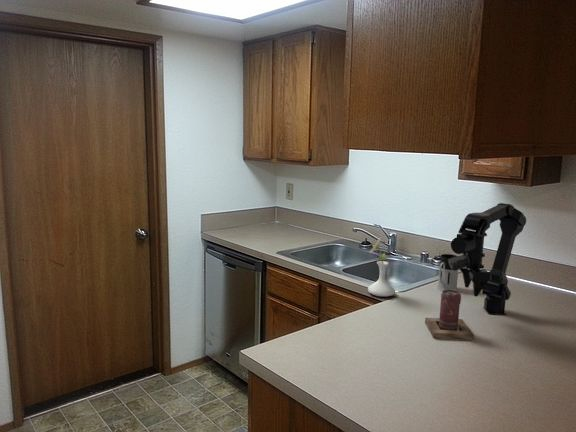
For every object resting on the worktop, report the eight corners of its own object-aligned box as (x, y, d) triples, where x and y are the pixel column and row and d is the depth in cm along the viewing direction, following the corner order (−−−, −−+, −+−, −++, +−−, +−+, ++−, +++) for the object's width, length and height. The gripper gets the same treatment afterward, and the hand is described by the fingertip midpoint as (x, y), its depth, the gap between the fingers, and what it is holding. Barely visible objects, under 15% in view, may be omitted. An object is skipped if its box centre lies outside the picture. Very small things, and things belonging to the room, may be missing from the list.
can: (459, 335, 156) (462, 296, 154) (439, 333, 157) (442, 294, 155) (456, 328, 162) (459, 290, 160) (437, 326, 163) (440, 288, 161)
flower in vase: (377, 288, 204) (380, 232, 199) (400, 294, 196) (403, 237, 191) (359, 294, 195) (362, 236, 190) (382, 302, 187) (386, 241, 182)
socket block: (461, 324, 165) (462, 319, 165) (473, 340, 153) (474, 334, 152) (424, 322, 166) (425, 317, 166) (433, 338, 154) (433, 332, 153)
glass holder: (460, 289, 205) (463, 256, 202) (448, 297, 194) (451, 262, 191) (441, 284, 210) (443, 252, 208) (428, 292, 199) (430, 258, 197)
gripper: (443, 242, 173) (440, 282, 176) (459, 256, 154) (456, 300, 157) (473, 243, 172) (470, 283, 175) (493, 256, 154) (489, 301, 157)
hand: (471, 291), depth 166 cm, fingers open, 9 cm apart
